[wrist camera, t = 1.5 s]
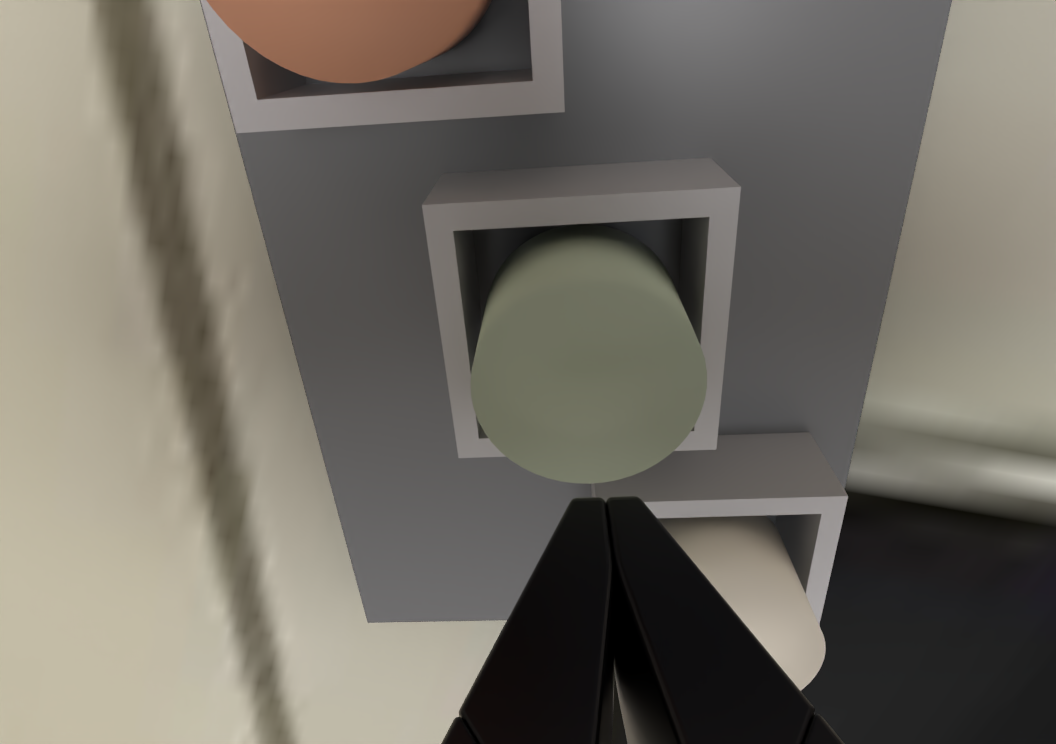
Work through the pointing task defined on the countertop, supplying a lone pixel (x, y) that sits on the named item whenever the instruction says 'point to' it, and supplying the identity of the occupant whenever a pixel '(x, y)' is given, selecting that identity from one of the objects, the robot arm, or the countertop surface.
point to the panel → (600, 199)
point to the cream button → (756, 585)
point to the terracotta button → (350, 33)
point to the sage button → (586, 358)
